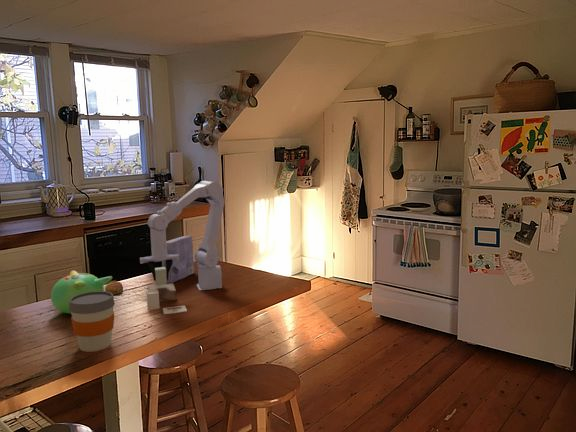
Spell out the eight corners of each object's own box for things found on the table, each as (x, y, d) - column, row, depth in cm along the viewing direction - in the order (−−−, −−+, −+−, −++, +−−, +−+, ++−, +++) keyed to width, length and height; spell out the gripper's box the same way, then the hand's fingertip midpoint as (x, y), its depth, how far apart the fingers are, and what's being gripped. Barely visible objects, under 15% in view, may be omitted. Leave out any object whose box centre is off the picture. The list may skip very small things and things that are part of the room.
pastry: (126, 294, 197) (125, 284, 196) (108, 297, 193) (107, 287, 193) (121, 288, 205) (120, 279, 204) (104, 290, 201) (103, 281, 201)
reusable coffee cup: (126, 340, 151) (123, 293, 148) (95, 357, 139) (91, 306, 137) (95, 334, 156) (91, 289, 153) (63, 350, 144) (58, 301, 142)
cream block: (158, 305, 182) (157, 289, 181) (159, 308, 179) (158, 292, 178) (147, 306, 181) (146, 290, 180) (148, 310, 177) (147, 294, 176)
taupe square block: (173, 292, 198) (173, 283, 197) (176, 300, 188) (175, 290, 188) (147, 295, 194) (147, 286, 194) (149, 303, 185) (148, 293, 185)
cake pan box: (187, 271, 228) (185, 234, 225) (196, 272, 226) (194, 234, 223) (161, 283, 210) (159, 242, 207) (171, 284, 208) (169, 243, 205)
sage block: (165, 281, 193) (165, 266, 192) (166, 284, 189) (166, 269, 188) (155, 282, 192) (154, 267, 191) (156, 285, 188) (155, 270, 187)
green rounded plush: (84, 301, 188) (81, 263, 186) (116, 307, 181) (114, 268, 178) (42, 316, 172) (38, 276, 170) (76, 324, 165) (73, 281, 162)
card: (184, 306, 181) (184, 305, 181) (187, 311, 175) (187, 310, 175) (162, 308, 178) (162, 308, 178) (164, 314, 172) (164, 313, 172)
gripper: (139, 249, 182) (142, 284, 184) (179, 245, 187) (181, 280, 189) (138, 245, 189) (141, 279, 191) (177, 242, 193) (178, 275, 195)
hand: (160, 279), depth 190 cm, fingers closed on sage block, 4 cm apart
